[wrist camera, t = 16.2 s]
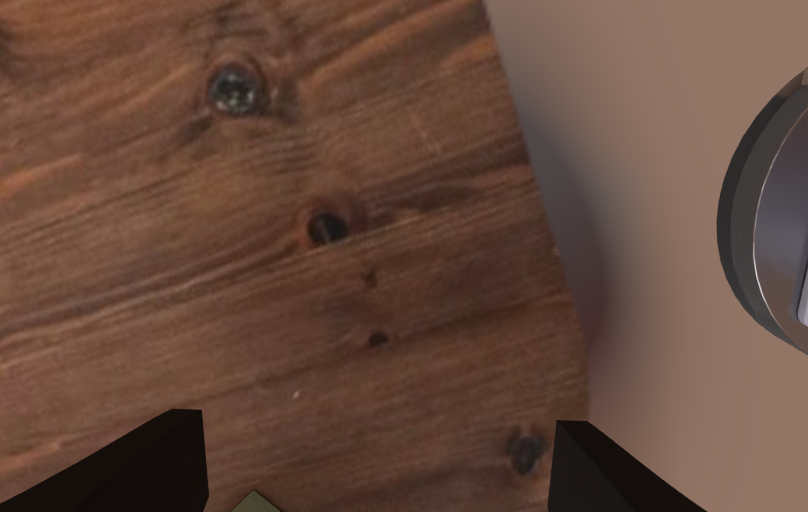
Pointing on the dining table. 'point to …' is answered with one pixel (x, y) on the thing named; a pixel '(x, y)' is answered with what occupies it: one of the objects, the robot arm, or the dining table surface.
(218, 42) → the dining table surface
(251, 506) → the desk tidy
